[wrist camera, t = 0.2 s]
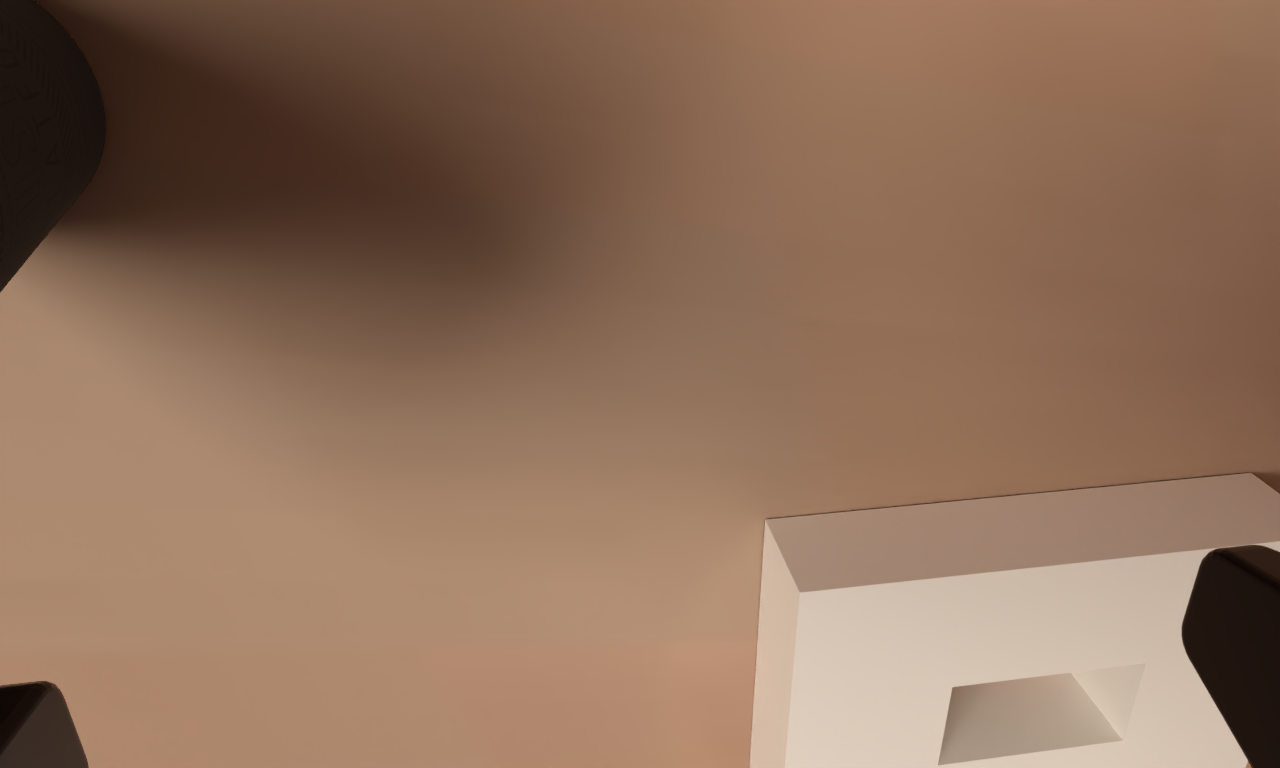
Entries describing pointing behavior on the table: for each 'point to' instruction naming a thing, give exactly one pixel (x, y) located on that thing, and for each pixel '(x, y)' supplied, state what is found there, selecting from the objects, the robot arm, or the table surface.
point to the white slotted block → (998, 630)
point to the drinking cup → (42, 128)
